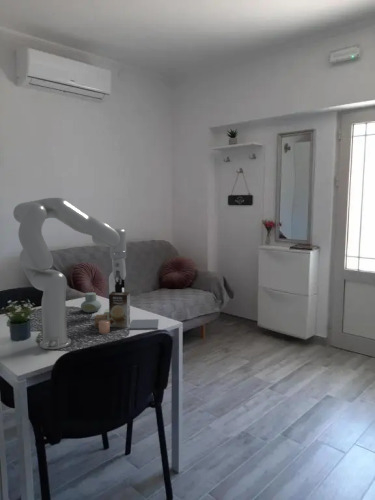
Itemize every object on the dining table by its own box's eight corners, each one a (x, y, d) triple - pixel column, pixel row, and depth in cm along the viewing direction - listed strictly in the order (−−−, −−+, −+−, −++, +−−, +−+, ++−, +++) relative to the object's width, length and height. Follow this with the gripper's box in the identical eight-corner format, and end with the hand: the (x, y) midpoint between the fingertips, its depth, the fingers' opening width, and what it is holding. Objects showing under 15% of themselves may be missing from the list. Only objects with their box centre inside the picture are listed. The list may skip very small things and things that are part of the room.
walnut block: (105, 327, 186) (105, 317, 186) (95, 327, 186) (94, 317, 185) (107, 324, 191) (107, 314, 190) (97, 324, 191) (96, 314, 190)
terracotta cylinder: (109, 333, 177) (108, 323, 177) (97, 333, 177) (97, 323, 177) (110, 330, 182) (110, 319, 182) (99, 330, 182) (99, 319, 181)
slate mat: (157, 329, 183) (157, 327, 183) (129, 329, 183) (129, 328, 183) (158, 320, 196) (158, 319, 196) (132, 321, 196) (132, 319, 196)
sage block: (114, 321, 195) (114, 312, 195) (104, 321, 195) (104, 312, 194) (115, 318, 200) (115, 309, 200) (106, 318, 200) (105, 309, 199)
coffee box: (108, 327, 186) (107, 294, 184) (112, 323, 193) (111, 291, 191) (127, 328, 185) (126, 295, 183) (130, 323, 192) (130, 291, 190)
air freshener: (79, 313, 210) (78, 295, 209) (83, 309, 218) (82, 291, 217) (99, 313, 210) (98, 295, 208) (102, 309, 218) (102, 291, 217)
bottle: (107, 315, 206) (105, 259, 202) (113, 311, 213) (111, 257, 210) (121, 316, 204) (119, 259, 200) (126, 312, 211) (125, 257, 208)
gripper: (124, 257, 176) (125, 294, 179) (128, 252, 193) (129, 285, 196) (107, 258, 176) (109, 294, 178) (113, 252, 193) (114, 286, 196)
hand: (120, 290), depth 187 cm, fingers open, 9 cm apart
